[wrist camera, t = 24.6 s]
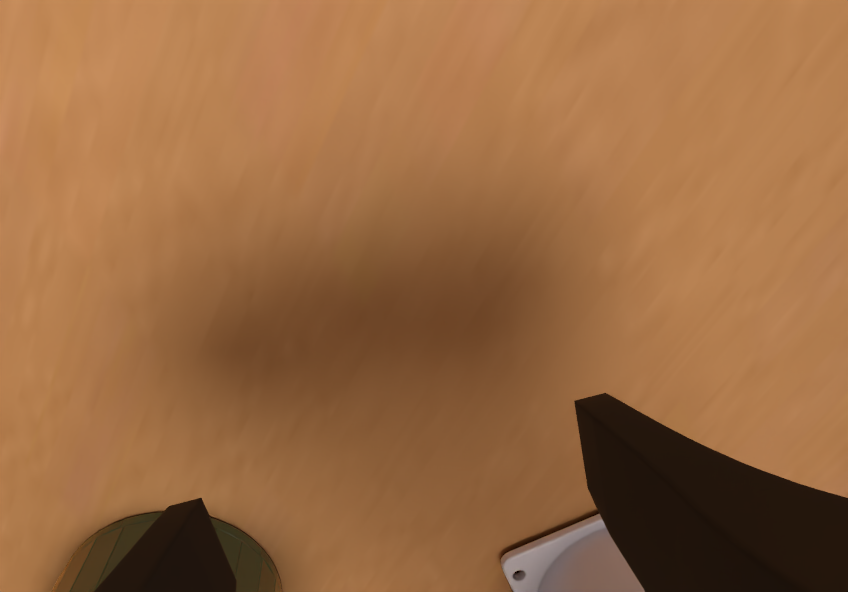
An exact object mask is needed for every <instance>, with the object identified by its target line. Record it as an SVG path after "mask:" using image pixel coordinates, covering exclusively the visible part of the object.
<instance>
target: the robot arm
mask: <svg viewBox="0 0 848 592" xmlns="http://www.w3.org/2000/svg"><path fill="white" fill-rule="evenodd" d="M574 402H575V408H576V415H577V421H578V427H579V434H580V440H581V447H582V453H583V460H584V466H585V473H586V479H587V486H588V489H589V492H590V494H591V496H592V498H593V500H594V503H595V505H596V507H597V509H598V511H599V514H597V515H595V516H592V517H590V518H588V519H585V520H583V521H580V522H578V523H576V524H573V525H571V526H569V527H566V528H564V529H561V530H559V531H557V532H554V533H552V534H550V535H547V536H545V537H542V538H540V539H538V540H535V541H533V542H530V543H528V544H526V545H523V546H521V547H519V548H516V549H514V550H511V551H509V552H507V553H506V554H504V555H503V557H502V558H501V566H502V569H503V572H504V574H505V576H506V578H507V580H508V582H509V584H510V586H511V589H512V591H513V592H848V498H845V497H842V496H838V495H835V494H831V493H828V492H824V491H820V490H817V489H814V488H811V487H808V486H804V485H801V484H798V483H795V482H792V481H790V480H787V479H784V478H781V477H778V476H776V475H773V474H770V473H767V472H765V471H762V470H759V469H756V468H754V467H751V466H749V465H746V464H744V463H741V462H739V461H737V460H735V459H732V458H730V457H728V456H726V455H723V454H721V453H719V452H717V451H714V450H712V449H710V448H708V447H706V446H704V445H701V444H699V443H697V442H695V441H693V440H691V439H689V438H687V437H685V436H683V435H681V434H679V433H677V432H675V431H674V430H672V429H670V428H668V427H666V426H664V425H662V424H660V423H659V422H657V421H655V420H653V419H651V418H650V417H648V416H646V415H644V414H642V413H641V412H639V411H637V410H635V409H633V408H632V407H630V406H628V405H626V404H625V403H623V402H621V401H619V400H618V399H616V398H614V397H612V396H610V395H608V394H606V393H603V394H599V395H595V396H592V397H588V398H584V399H580V400H576V401H574ZM519 570H521V572H519V573H516V574H515V572H516V571H519ZM236 585H237V580H236V578H235V576H234V573H233V571H232V569H231V566H230V564H229V562H228V559H227V557H226V555H225V552H224V550H223V547H222V545H221V543H220V540H219V538H218V536H217V533H216V531H215V529H214V526H213V524H212V522H211V519H210V517H209V515H208V512H207V510H206V508H205V505H204V503H203V500H202V498H199V499H195V500H191V501H187V502H184V503H180V504H176V505H172V506H169V507H168V508H167V509H166V510H165V511H164V512H163V513H162V514H161V515H160V516H159V517H158V518H157V520H156V521H155V522H154V523H153V524H152V525H151V526H150V527H149V529H148V530H147V531H146V532H145V533H144V534H143V536H142V537H141V538H140V539H139V540H138V541H137V543H136V544H135V545H134V546H133V547H132V548H131V550H130V551H129V552H128V553H127V554H126V555H125V557H124V558H123V559H122V560H121V561H120V562H119V563H118V565H117V566H116V567H115V568H114V569H113V570H112V572H111V573H110V574H109V575H108V576H107V577H106V578H105V580H104V581H103V582H102V583H101V584H100V585H99V586H98V588H97V589H96V590H95V591H94V592H236Z"/></svg>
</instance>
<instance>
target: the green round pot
mask: <svg viewBox="0 0 848 592" xmlns="http://www.w3.org/2000/svg"><path fill="white" fill-rule="evenodd" d="M162 513H163V512H156V513H148V514H142V515H138V516H134V517H130V518H127V519H124V520H121V521H118V522H116V523H114V524H112V525H110V526H108V527H106V528H104V529H102V530H100V531H99V532H97V533H96V534H94V535H93V536H91V537H90V538H89V539H88V540H87V541H85V542H84V543H83V544H82V545H81V546H80V547H79V548H78V549H77V551H76V552H75V553H74V554H73V555H72V557H71V559H70V560H69V562H68V564H67V565H66V567H65V569H64V570H63V572H62V573H61V575H60V576H59V578H58V580H57V582H56V584H55V586H54V588H53V590H52V591H51V592H94V591H95V590H96V589H97V588H98V586H99V585H100V584H101V583H102V582H103V581H104V580H105V578H106V577H107V576H108V575H109V574H110V573H111V572H112V570H113V569H114V568H115V567H116V566H117V565H118V563H119V562H120V561H121V560H122V559H123V558H124V557H125V555H126V554H127V553H128V552H129V551H130V550H131V548H132V547H133V546H134V545H135V544H136V543H137V541H138V540H139V539H140V538H141V537H142V536H143V534H144V533H145V532H146V531H147V530H148V529H149V527H150V526H151V525H152V524H153V523H154V522H155V521H156V520H157V518H158V517H159V516H160V515H161V514H162ZM210 519H211V522H212V524H213V526H214V529H215V531H216V533H217V536H218V538H219V540H220V543H221V545H222V547H223V550H224V552H225V555H226V557H227V559H228V562H229V564H230V566H231V569H232V571H233V573H234V576H235V578H236V580H237V585H236V592H282V588H281V582H280V578H279V576H278V573H277V570H276V568H275V566H274V564H273V563H272V561H271V559H270V557H269V556H268V555H267V554H266V552H265V551H264V550H263V549H262V548H261V547H260V546H259V545H258V544H257V543H256V542H255V541H254V540H253V539H252V538H250V537H249V536H248V535H246V534H245V533H244V532H242V531H240V530H238V529H237V528H235V527H233V526H231V525H229V524H227V523H224V522H222V521H220V520H217V519H213V518H210Z"/></svg>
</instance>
